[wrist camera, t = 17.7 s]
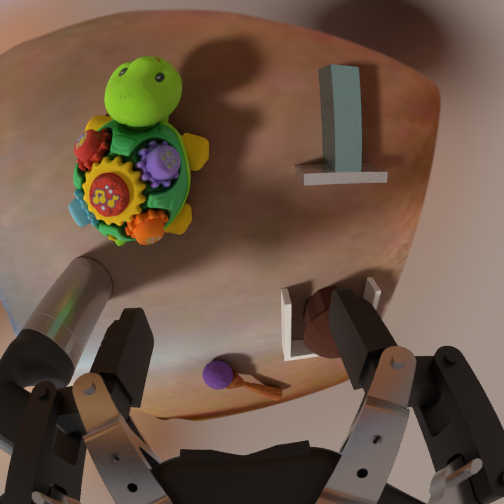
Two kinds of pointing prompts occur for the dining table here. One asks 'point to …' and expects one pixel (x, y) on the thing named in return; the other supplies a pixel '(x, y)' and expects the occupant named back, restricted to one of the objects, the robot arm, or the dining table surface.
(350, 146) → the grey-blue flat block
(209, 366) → the purple ball-ended brown rod
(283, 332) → the bay
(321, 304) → the muffin
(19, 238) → the dining table surface
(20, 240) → the dining table surface
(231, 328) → the dining table surface
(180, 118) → the dining table surface
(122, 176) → the turtle toy
